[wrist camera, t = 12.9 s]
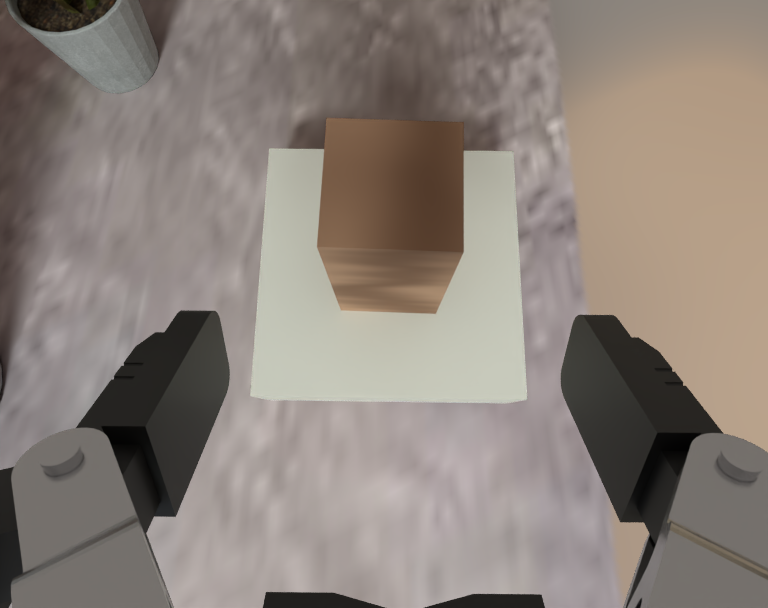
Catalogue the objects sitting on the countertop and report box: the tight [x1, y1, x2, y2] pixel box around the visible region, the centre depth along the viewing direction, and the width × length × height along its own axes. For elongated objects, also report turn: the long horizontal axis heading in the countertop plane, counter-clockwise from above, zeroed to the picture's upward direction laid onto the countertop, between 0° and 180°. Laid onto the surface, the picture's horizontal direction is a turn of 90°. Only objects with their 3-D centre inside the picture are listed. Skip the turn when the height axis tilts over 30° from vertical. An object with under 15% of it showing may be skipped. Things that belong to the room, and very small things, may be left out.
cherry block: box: [317, 118, 464, 314], centre depth 22 cm, size 5×5×10 cm
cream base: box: [250, 149, 527, 403], centre depth 29 cm, size 14×14×4 cm
